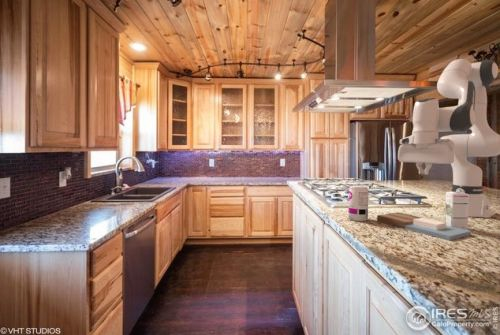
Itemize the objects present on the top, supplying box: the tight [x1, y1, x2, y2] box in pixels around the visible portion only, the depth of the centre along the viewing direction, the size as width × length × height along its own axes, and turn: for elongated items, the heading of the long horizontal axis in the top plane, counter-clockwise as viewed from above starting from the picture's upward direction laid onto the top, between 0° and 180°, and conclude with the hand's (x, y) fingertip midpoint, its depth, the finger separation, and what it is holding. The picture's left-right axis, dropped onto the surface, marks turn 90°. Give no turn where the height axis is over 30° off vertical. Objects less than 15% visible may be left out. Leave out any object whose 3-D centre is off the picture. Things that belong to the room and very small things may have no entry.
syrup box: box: [444, 191, 469, 230], centre depth 108 cm, size 6×6×14 cm
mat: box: [404, 224, 472, 241], centre depth 104 cm, size 14×16×2 cm
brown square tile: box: [376, 212, 423, 229], centre depth 117 cm, size 14×13×2 cm
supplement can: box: [347, 184, 370, 222], centre depth 123 cm, size 8×8×15 cm
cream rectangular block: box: [413, 217, 446, 230], centre depth 107 cm, size 6×9×2 cm, turn 26°
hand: (423, 174), depth 109 cm, fingers closed
